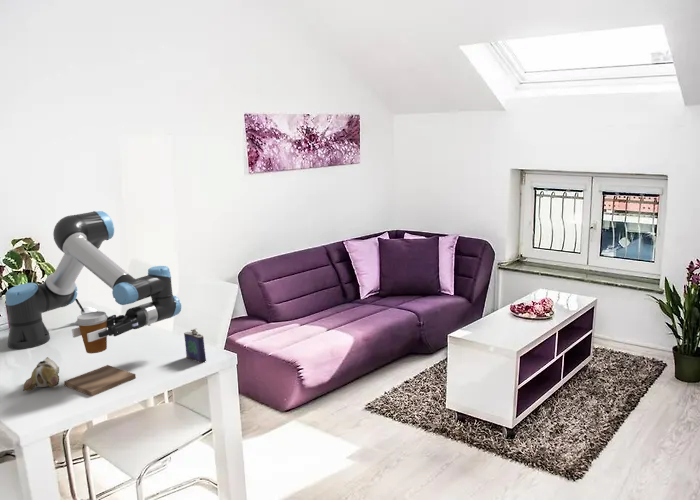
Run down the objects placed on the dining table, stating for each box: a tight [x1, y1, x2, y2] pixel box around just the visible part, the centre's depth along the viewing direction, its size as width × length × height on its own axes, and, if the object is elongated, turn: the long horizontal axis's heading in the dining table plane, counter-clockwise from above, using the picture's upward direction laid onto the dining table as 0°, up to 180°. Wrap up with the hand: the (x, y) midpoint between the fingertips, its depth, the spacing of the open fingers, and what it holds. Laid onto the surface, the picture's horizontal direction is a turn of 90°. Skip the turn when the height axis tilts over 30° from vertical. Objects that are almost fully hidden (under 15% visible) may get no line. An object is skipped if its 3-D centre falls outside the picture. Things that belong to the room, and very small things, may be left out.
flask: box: [183, 328, 207, 364], centre depth 215 cm, size 10×3×12 cm, turn 50°
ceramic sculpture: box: [22, 356, 60, 392], centre depth 199 cm, size 11×9×15 cm
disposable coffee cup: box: [75, 310, 109, 354], centre depth 197 cm, size 10×10×12 cm
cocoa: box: [74, 298, 98, 315], centre depth 265 cm, size 10×6×12 cm
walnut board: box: [63, 364, 137, 397], centre depth 200 cm, size 16×16×2 cm
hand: (80, 335), depth 193 cm, fingers closed on disposable coffee cup, 8 cm apart
